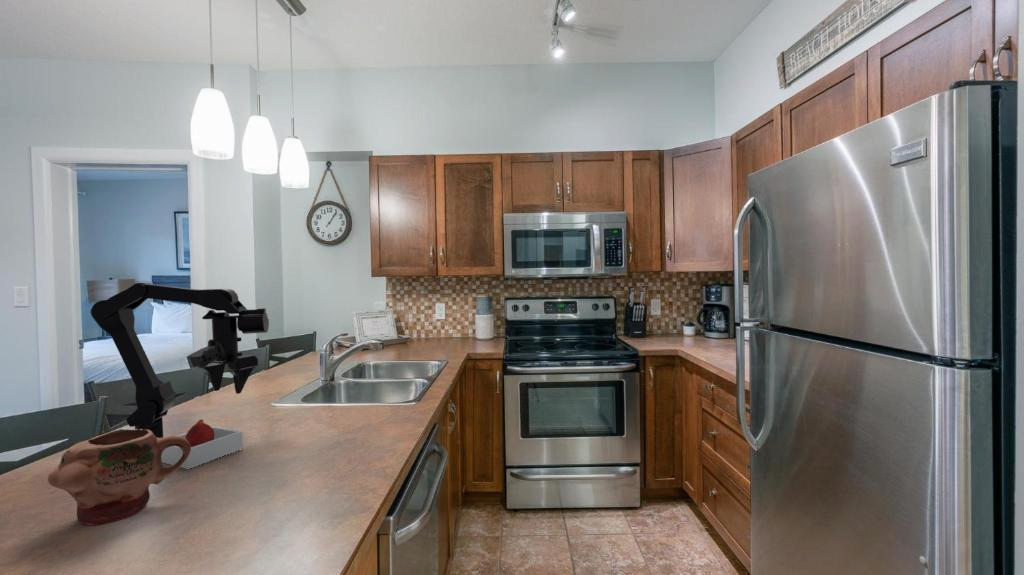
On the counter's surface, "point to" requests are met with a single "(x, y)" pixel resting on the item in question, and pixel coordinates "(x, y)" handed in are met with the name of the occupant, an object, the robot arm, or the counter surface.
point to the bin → (206, 448)
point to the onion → (200, 434)
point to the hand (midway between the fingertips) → (227, 392)
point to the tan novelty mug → (115, 473)
